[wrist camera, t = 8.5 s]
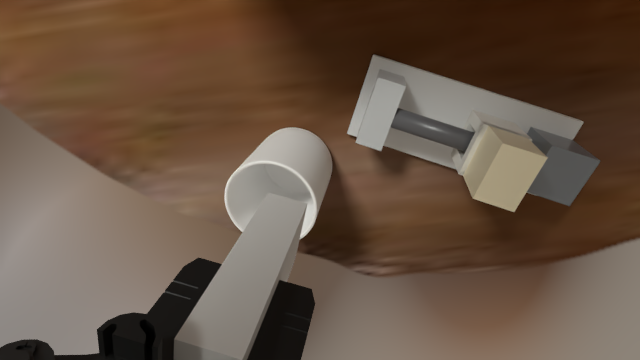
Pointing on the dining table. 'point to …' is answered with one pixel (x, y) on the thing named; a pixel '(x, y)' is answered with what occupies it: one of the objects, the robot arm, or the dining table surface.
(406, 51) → the dining table surface
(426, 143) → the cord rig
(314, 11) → the dining table surface
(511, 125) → the sleeve
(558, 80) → the dining table surface
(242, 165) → the cup
